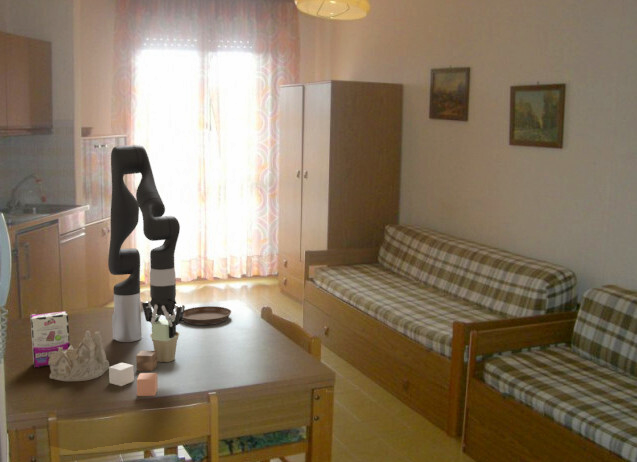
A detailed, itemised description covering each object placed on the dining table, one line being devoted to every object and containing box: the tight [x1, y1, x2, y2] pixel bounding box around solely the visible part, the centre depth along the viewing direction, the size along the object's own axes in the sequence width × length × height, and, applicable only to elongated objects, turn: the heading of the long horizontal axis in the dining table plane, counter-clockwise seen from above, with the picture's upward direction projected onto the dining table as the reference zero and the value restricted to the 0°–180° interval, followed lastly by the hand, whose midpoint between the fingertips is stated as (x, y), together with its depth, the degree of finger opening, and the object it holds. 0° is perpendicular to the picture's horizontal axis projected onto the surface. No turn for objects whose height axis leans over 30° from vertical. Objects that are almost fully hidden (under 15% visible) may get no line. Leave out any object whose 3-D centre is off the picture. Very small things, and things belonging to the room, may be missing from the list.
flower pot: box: [149, 331, 180, 363], centre depth 219 cm, size 9×9×9 cm
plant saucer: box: [182, 305, 232, 326], centre depth 267 cm, size 21×21×3 cm
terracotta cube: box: [136, 372, 159, 397], centre depth 192 cm, size 5×5×5 cm
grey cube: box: [108, 362, 135, 387], centre depth 199 cm, size 5×5×5 cm
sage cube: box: [151, 319, 176, 342], centre depth 202 cm, size 5×5×5 cm
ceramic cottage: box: [48, 330, 111, 382], centre depth 206 cm, size 16×16×15 cm
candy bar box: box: [29, 311, 71, 368], centre depth 214 cm, size 11×5×16 cm, turn 117°
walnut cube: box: [135, 350, 158, 372], centre depth 211 cm, size 5×5×5 cm
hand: (164, 336), depth 202 cm, fingers closed on sage cube, 5 cm apart
